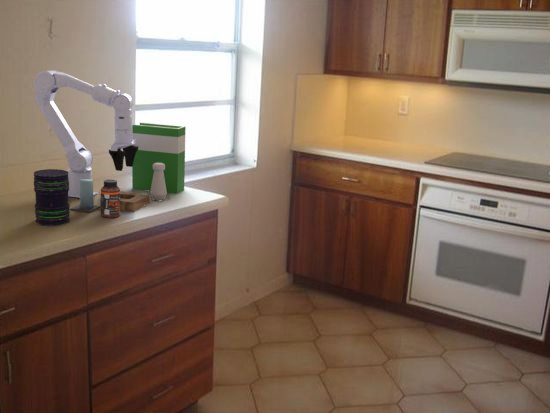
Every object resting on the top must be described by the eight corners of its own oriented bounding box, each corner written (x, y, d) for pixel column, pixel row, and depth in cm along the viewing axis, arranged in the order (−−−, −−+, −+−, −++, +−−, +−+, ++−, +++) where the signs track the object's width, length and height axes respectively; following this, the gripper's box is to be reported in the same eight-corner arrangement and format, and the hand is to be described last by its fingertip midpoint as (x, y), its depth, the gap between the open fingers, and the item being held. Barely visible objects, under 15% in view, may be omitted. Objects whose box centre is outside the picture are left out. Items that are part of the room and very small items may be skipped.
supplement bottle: (110, 219, 190) (109, 183, 187) (96, 215, 193) (96, 180, 190) (124, 215, 195) (124, 180, 192) (110, 212, 198) (110, 177, 195)
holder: (100, 207, 203) (100, 198, 202) (117, 199, 214) (117, 190, 213) (133, 211, 200) (133, 202, 199) (149, 203, 211) (149, 194, 211)
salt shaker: (163, 202, 214) (163, 165, 210) (147, 200, 215) (147, 163, 211) (169, 198, 219) (169, 162, 216) (154, 196, 220) (154, 160, 217)
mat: (70, 210, 197) (70, 208, 197) (81, 205, 204) (81, 203, 204) (89, 213, 196) (89, 211, 195) (101, 207, 202) (100, 206, 202)
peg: (78, 208, 197) (77, 181, 195) (82, 205, 201) (82, 178, 199) (91, 209, 197) (90, 182, 195) (95, 206, 201) (95, 179, 199)
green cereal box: (132, 189, 229) (132, 124, 223) (140, 185, 236) (140, 122, 230) (177, 194, 226) (178, 128, 220) (184, 189, 233) (185, 126, 227)
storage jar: (36, 227, 179) (33, 176, 175) (34, 217, 187) (32, 169, 183) (72, 224, 183) (70, 175, 179) (68, 215, 191) (67, 168, 187)
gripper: (124, 133, 203) (125, 173, 206) (143, 127, 217) (144, 165, 220) (104, 131, 204) (105, 171, 208) (125, 126, 218) (126, 164, 222)
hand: (124, 168), depth 214 cm, fingers open, 7 cm apart
